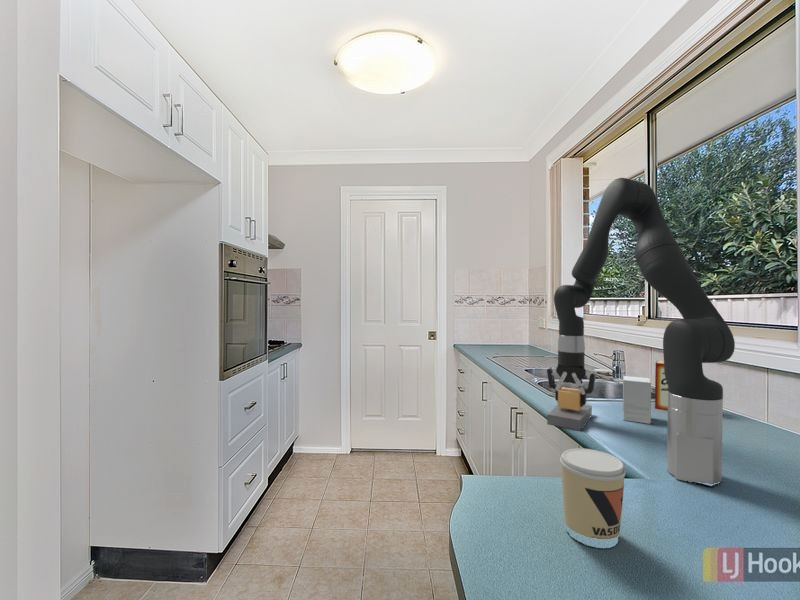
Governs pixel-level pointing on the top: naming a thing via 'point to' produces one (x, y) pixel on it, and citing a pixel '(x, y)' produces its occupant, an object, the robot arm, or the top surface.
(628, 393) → the supplement box
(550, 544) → the top surface
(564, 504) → the coffee cup
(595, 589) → the top surface
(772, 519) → the top surface
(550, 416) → the board
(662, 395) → the baking soda box
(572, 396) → the orange kitchen sponge
